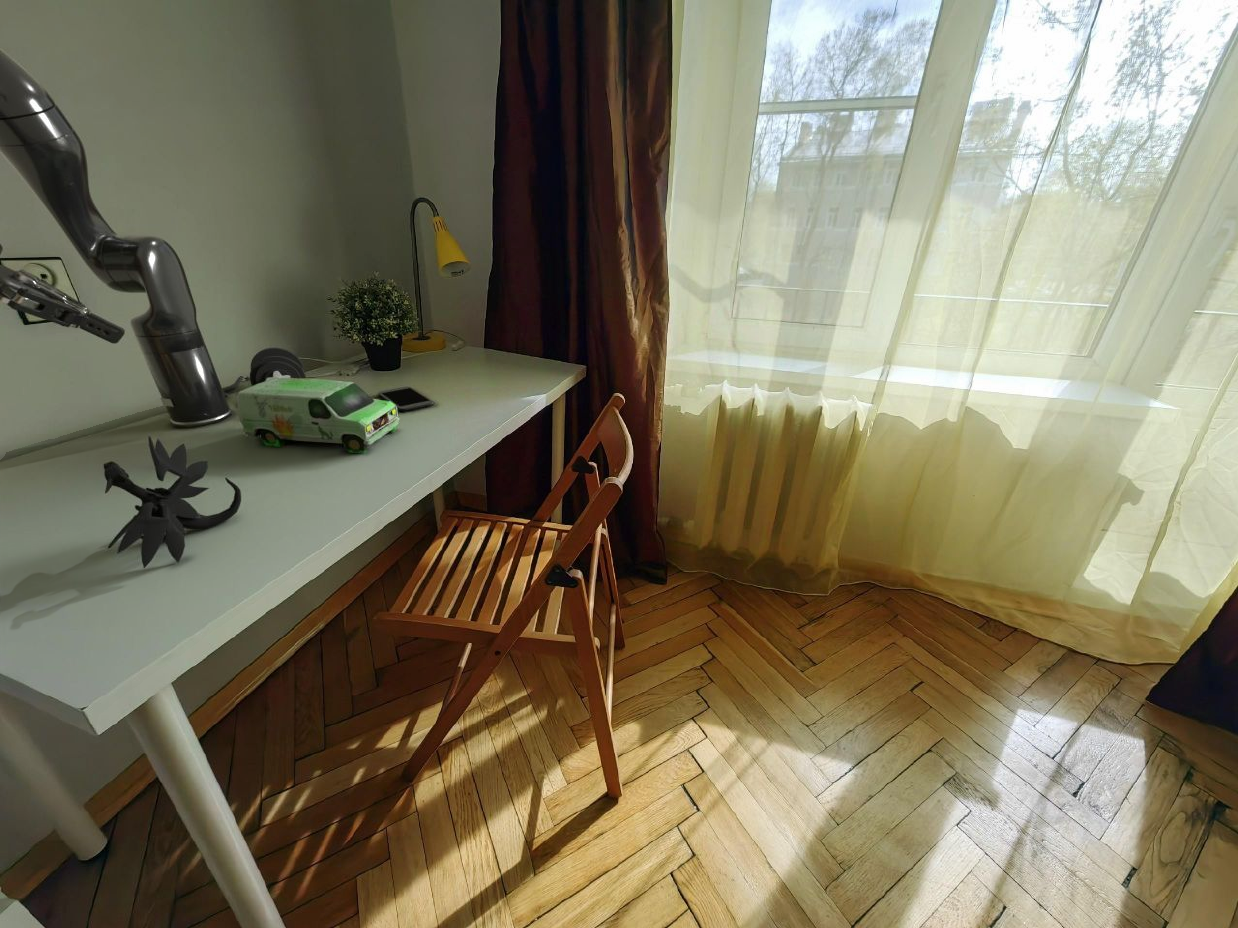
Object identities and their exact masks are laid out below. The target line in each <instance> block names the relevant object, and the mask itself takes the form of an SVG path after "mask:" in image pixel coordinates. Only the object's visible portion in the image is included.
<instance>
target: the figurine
mask: <svg viewBox="0 0 1238 928" xmlns="http://www.w3.org/2000/svg"><path fill="white" fill-rule="evenodd" d="M148 446H149V451H150V456H151V460H152V462H153V466H154V470H155V476H156V478H157V480H158V481H160V482H164V479H165V476H166V473H167V472H169V473H170V474H173V475H175V476H178V478H177V479H176V480H175V481H174V482H173V483H172V485H171V486H170V487H168V488H165V487H156V488H154V489H153V488H150V487H146V488H144V487H142V486H139V485H137V484H135V483H134V481H133V480H132V479H130V475H129V474H128V472H127V471H126V470H125V469H124V468H123V467H121V466H120V465H119V464H118V463H117V462H115V461H112V460H110V461H108V462H105V463H103V470H104V475H103V476H104V478H105V480H106V485H105V490H104V494H107V493H108V492H109V491H110V490H111V489H112V487H115V488H119V489H121V490H123V491H125V492H127V493H129V494H130V495H132V496H134V497H135V498H137V499H139V500H140V501H141V505H139V504H135V505H134V508H135V510H136V511H138V512H137V514H135V515H133V517H132V518H131V519H130V520H129V521H128V522H127V523H126V524H125V525H124V526H123V527H122V528H121V530H119V532H118V533H117V534H116V535H115V536H114V538H113V539H112V540H111V542H110V543H109V544H108V546H107V549H111V548H112V547H113V546H114V545H116V543H117V542H118V541H119V540H120V539H121V540H120V543H119V545H118V548H117V554H120V553H122V552H123V551H125V550H126V549H128V548H129V547H131V546H132V545H134V544H135V543H136V542H138V541H139V540H141V546H140V555H141V563H142V566H143V569H145V568H146V567H147V566H148V565H149V564H150V563H151V561H153V559H154V557H155V555H156V554H157V552H158V550H159V549H160V547H161V545H162V543H163V541H165V544H166V547H167V550H168V552H169V554H170V555H171V557H172V558H173V559H174V560H175V562H176V563H179V562H180V561H181V558H182V557H183V555H184V551H185V547H186V541H185V535H186V534H187V532H186V529H187V530H197V531H199V530H207V529H209V528H214V527H216V526H218V525H221V524H223V523H225V522H226V521H228V520H230V519H231V518H232V517H234V516H235V515H236V514H237V513H238V511H239V509H240V507H241V503H242V491H241V489H240V487H239V486H238V485H237V484H236V483H234V482H233V481H231V480H230V479H229V478H228V477H224V479H225V481H226V482H227V484H229V486H231V488H232V489H233V491H234V495H233V500H232V501H231V504H230V505H229V507H228V508H226V509H225V510H222V511H221V512H220V511H219V512H218V513H214V514H209V515H206V514H205V515H204V514H201V513H199V512H198V511H197V510H196V508H194V506H193V505H192V504H190V503H189V502H188V501H187V500H185V499H190V498H191V499H192V498H194V497H196V496H199V495H200V494H202V493H203V492H205V491H207V490H209V489H210V487H205V486H204V487H202V486H193V485H192V484H194V483H196V482H198V481H200V480H202V479H204V477H205V475H206V474H207V472H208V469H209V465H208V464H209V461H208V460H199V461H194V462H193V463H190V464H189V465H188V454H187V448H186V445H185V443H184V442H183V443H181V444H180V445H178V446H177V447H176V448H175V449H174V450H173V451H172V452H171V455H169V453H168V451H167V450H166V448H165V446H164V444H163V443H162V441H161V440H160V439H159V438H157V440H156V441H155V445H154V442H153V439H152V437H151V436H148ZM187 465H188V466H187ZM184 534H185V535H184Z"/></svg>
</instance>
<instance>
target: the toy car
mask: <svg viewBox="0 0 1238 928" xmlns="http://www.w3.org/2000/svg"><path fill="white" fill-rule="evenodd" d="M398 414H399V413H398V409H397V407H396V405H395V404H393V403H392V402H390V401H386V400H381V399H377V398H372V396H370V395H369V394H368V393H367V392H366V391H365V390H364V389H362V388H361V387H360V386H359V385H358V384H357V383H355V382H352V381H340V380H333V379H319V378H306V379H303V378H274V379H271V380H268V381H265V382H262V383H259V384H256V385H254V386H252V385H251V386H249V387H247V388H244V389H242V390H240V391H238V393H237V416H238V419H239V422H240V424H241V426H242V427H243V432H242V434H243V435H244V436H245V437H249V436H250V437H254V438H257V437H260V439H261V441H262V443H263V444H264V445H265V446H269V447H282V446H284V445H285V441H297V442H299V441H300V442H314V443H326V444H327V443H329V444H343V447H344V449H345V450H346V451H347V452H348V453H353V454H364V453H365V452H367V450H368V447H369V446H371V445H372V444H373V443H375V442H376V441H377V440H379V439H381V438H383V437H384V436H386V434H388V433H389V434H392V433H394V432H395V431H396V428H397V427H396V426H398V424H399V423H400V417H398V416H399V415H398Z"/></svg>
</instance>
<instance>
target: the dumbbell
mask: <svg viewBox="0 0 1238 928" xmlns="http://www.w3.org/2000/svg"><path fill="white" fill-rule="evenodd" d="M249 370H250V372H249V378H250V380H249V383H250V385H251V386H254V385H256V384H259V383H262V382H265V381H268V380H271V379H274V378H303V379H307V375H306V373H305V369H304V365H303V362H302V361H301V359H300V358H299V357H298V356H297V355H296V354H295V353H293V352H292V351H290V350H288V349H286V348H281V347H268V348H267V347H266V348H264V349H261V350H260V351H258V352H257V353H256V354H255V355H254V356H253V357H252V359H251V362H250V369H249Z"/></svg>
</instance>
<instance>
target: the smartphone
mask: <svg viewBox="0 0 1238 928" xmlns="http://www.w3.org/2000/svg"><path fill="white" fill-rule="evenodd" d="M377 394H378V396H379V397H381V398H382V399H383V400H384V401H390V402H392V403H393V404H395V405H396V407H397V411H400V412H408V411H409V412H410V411H413V410H419V409H423V408H427V407H431V406H434V405H435V402H434V400H432V399H431V398H429V397H427V396H425V395H424V394H422V393H421V392H419V391H417V390H416V389H415V388H412V387H411V386H402V387H395V388H391V389H385V390H380V391H378V393H377Z"/></svg>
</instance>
